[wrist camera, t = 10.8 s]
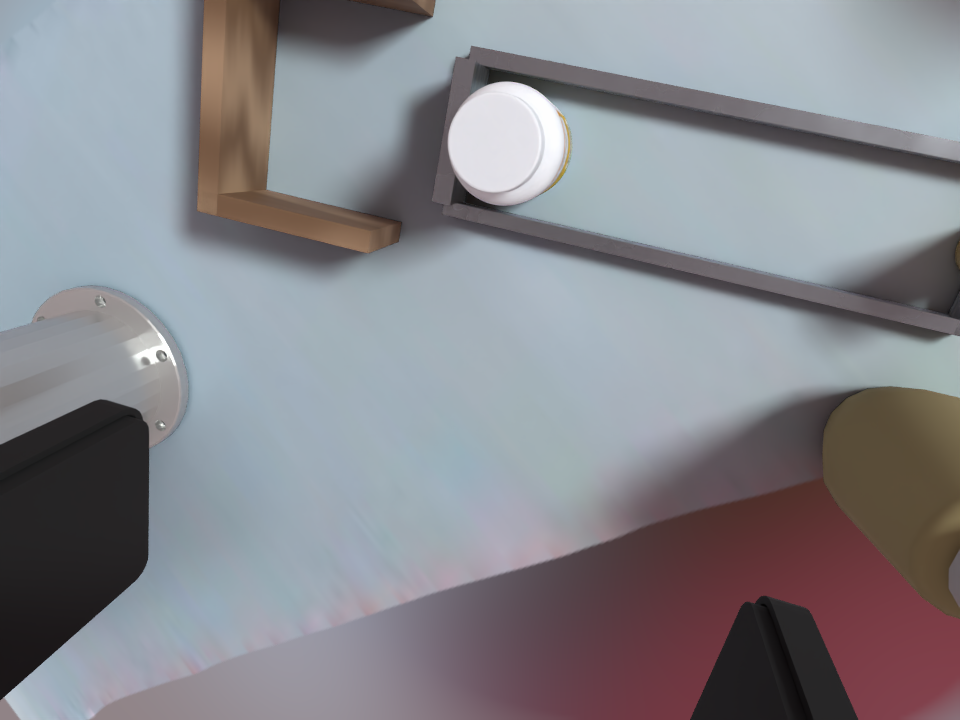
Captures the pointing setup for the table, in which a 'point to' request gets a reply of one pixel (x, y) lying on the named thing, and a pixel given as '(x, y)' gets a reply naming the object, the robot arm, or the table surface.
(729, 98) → the gray rectangular frame
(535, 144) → the supplement bottle
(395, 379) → the table surface
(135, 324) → the robot arm
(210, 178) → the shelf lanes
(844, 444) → the squeeze bottle
